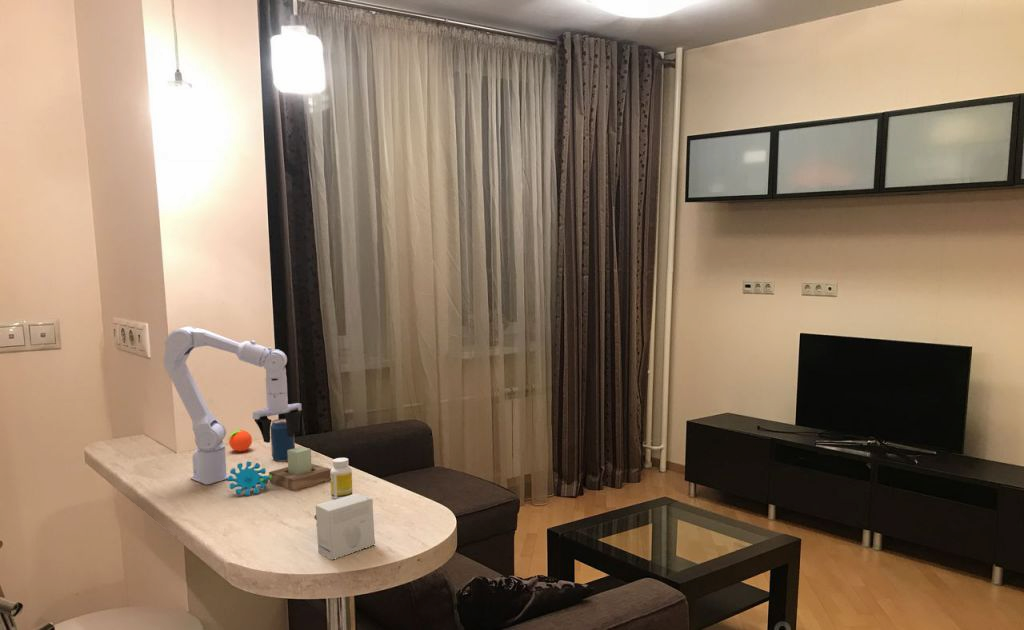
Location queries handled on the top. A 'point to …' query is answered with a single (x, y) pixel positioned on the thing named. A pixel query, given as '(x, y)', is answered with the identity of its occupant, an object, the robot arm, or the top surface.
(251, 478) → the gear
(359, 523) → the skincare box
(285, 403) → the robot arm
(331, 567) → the top surface
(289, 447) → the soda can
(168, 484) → the top surface
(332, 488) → the supplement bottle
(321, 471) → the walnut collar
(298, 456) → the sage peg
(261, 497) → the top surface
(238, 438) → the clementine
